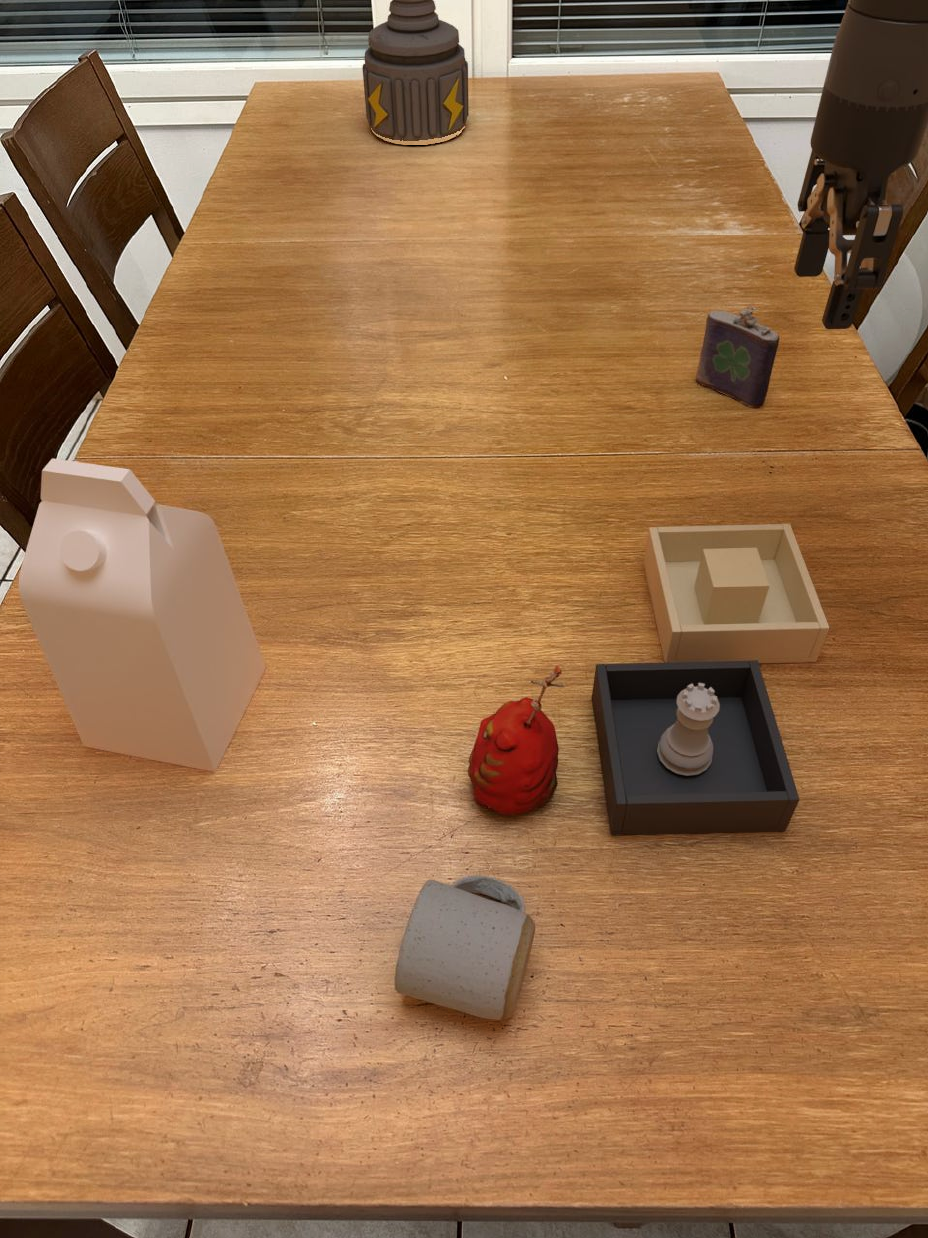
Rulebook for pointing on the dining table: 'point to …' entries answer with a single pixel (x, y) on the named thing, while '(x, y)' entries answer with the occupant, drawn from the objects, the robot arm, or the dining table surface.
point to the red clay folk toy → (516, 756)
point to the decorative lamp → (415, 75)
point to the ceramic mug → (466, 947)
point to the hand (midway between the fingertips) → (820, 299)
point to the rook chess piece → (690, 732)
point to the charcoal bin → (741, 763)
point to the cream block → (731, 586)
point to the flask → (737, 356)
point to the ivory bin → (779, 636)
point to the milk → (138, 617)
